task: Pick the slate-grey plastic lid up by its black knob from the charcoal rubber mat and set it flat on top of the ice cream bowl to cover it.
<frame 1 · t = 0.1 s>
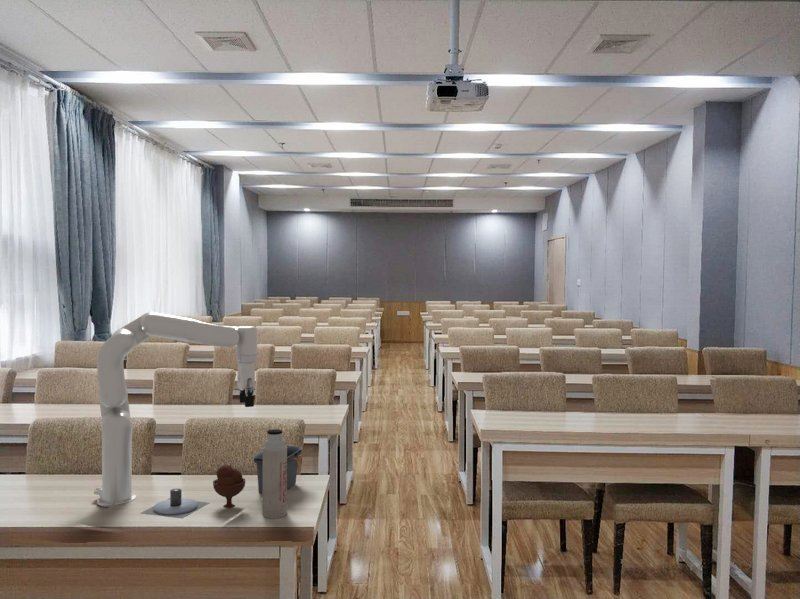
hand: (246, 404, 252), 31 cm above the table, tool pointing down, fingers open, 9 cm apart
storage bin: (280, 490, 250), on the table
thermos bottle: (274, 514, 223), on the table
mat: (175, 510, 225), on the table
lid: (175, 507, 225), point 1 cm above the table, touching mat
ice cream bowl: (229, 509, 227), on the table
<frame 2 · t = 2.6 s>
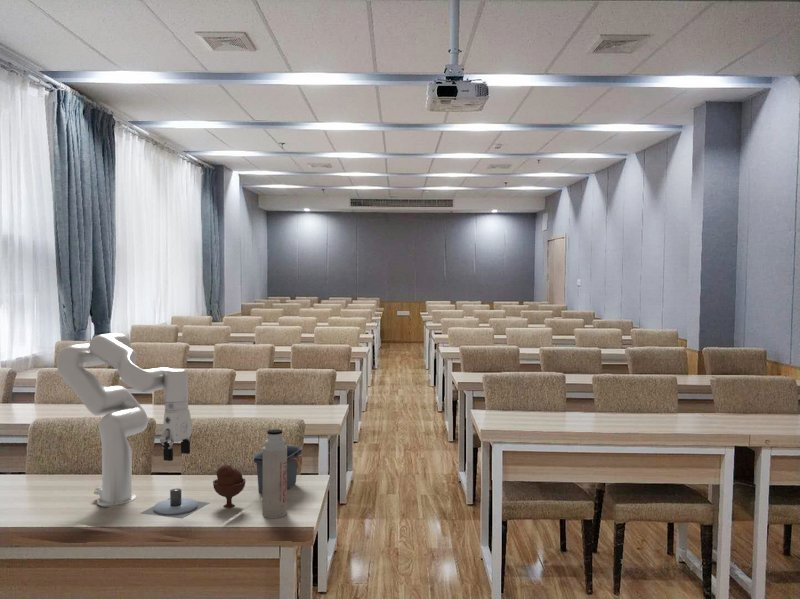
hand: (177, 456, 225), 18 cm above the table, tool pointing down, fingers open, 9 cm apart
nothing on the table moved.
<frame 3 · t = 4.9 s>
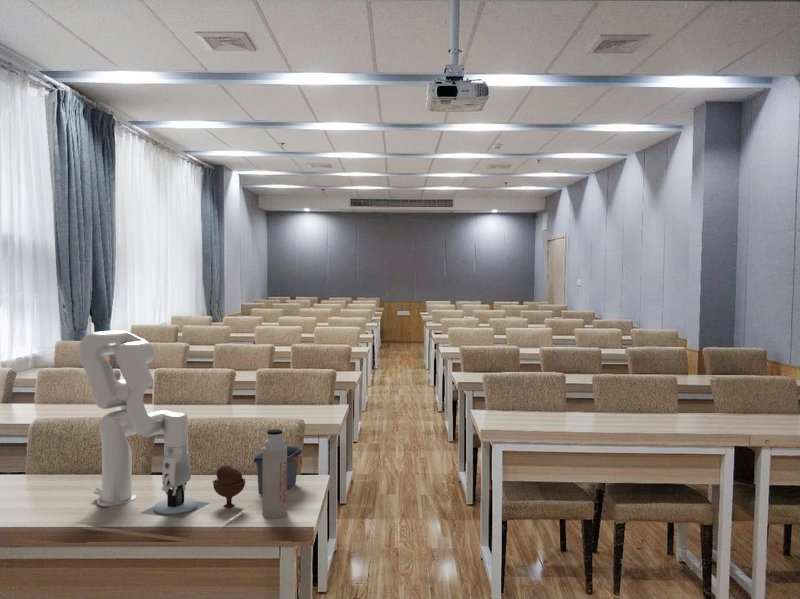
hand: (175, 504, 225), 2 cm above the table, tool pointing down, fingers closed on lid, 3 cm apart
lid: (175, 507, 225), point 1 cm above the table, touching gripper, mat
everything else where it was.
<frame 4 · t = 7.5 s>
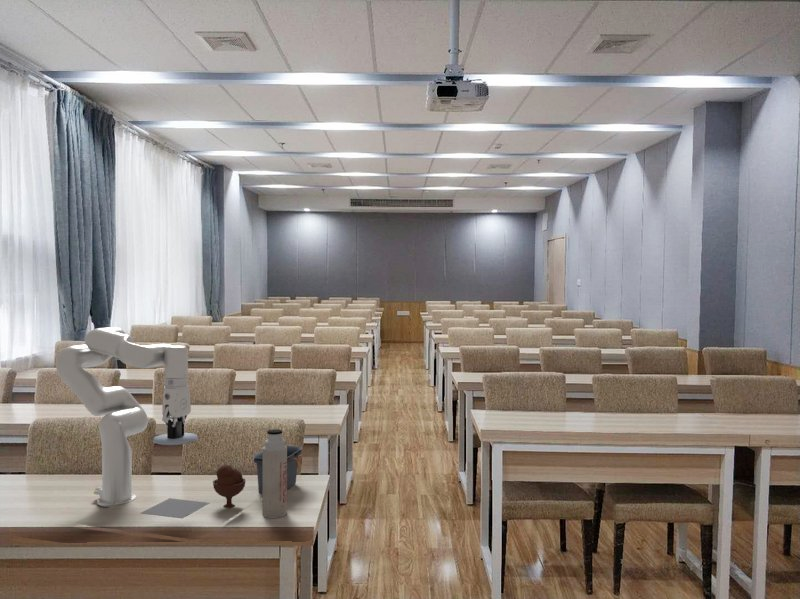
hand: (175, 436, 225), 25 cm above the table, tool pointing down, fingers closed on lid, 3 cm apart
lid: (175, 440, 225), point 24 cm above the table, touching gripper
everything else where it was.
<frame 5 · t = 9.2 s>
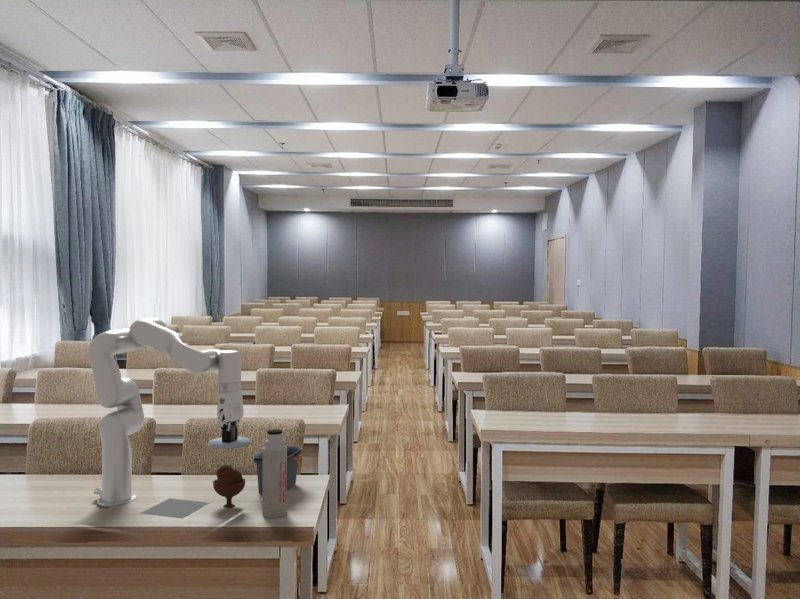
hand: (229, 440, 227), 23 cm above the table, tool pointing down, fingers closed on lid, 3 cm apart
lid: (229, 443, 227), point 22 cm above the table, touching gripper
everything else where it was.
when the fingers open (18 cm above the table, at t = 10.4 s): lid drops 2 cm, resting on ice cream bowl.
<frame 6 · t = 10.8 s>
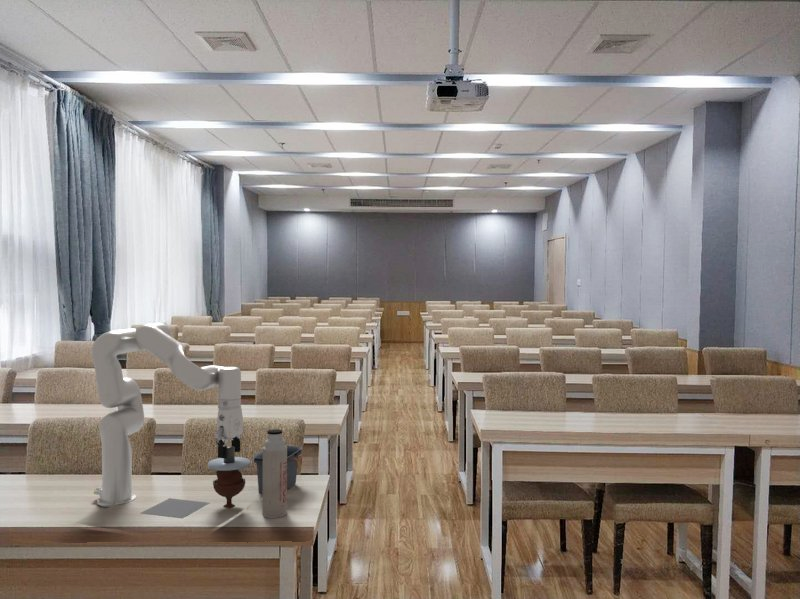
hand: (229, 454, 227), 19 cm above the table, tool pointing down, fingers open, 8 cm apart
lid: (229, 465, 227), point 15 cm above the table, touching ice cream bowl
ice cream bowl: (229, 509, 227), on the table, touching lid
everything else where it was.
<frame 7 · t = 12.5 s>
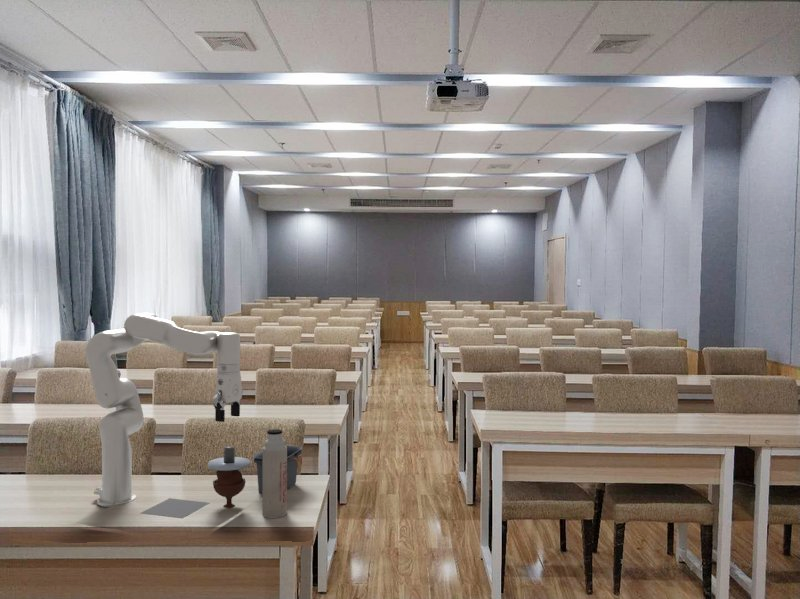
hand: (227, 418, 228), 31 cm above the table, tool pointing down, fingers open, 9 cm apart
nothing on the table moved.
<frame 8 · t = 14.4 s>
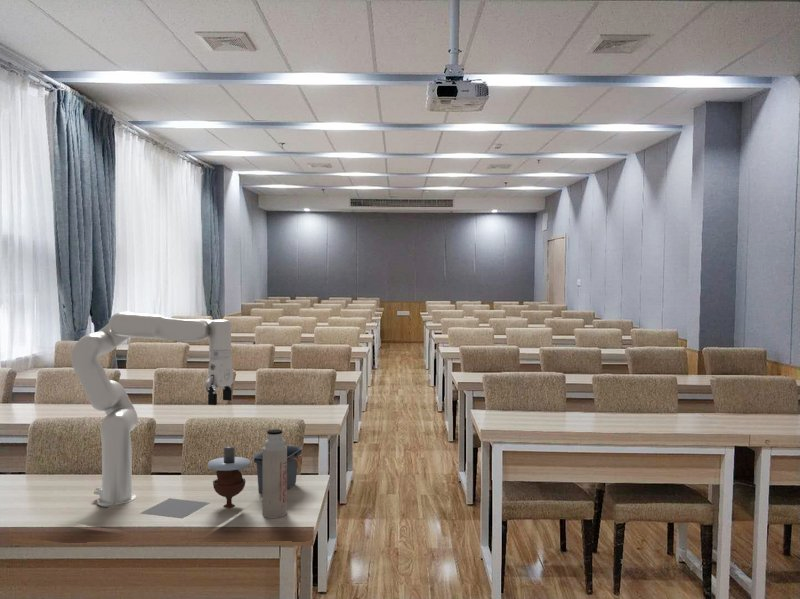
hand: (220, 402, 238), 34 cm above the table, tool pointing down, fingers open, 9 cm apart
nothing on the table moved.
at the end: lid 0.0 cm off-centre on the ice cream bowl, point 15.2 cm above the ice cream bowl's base; lid tilted 0°; ice cream bowl tilted 0° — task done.
